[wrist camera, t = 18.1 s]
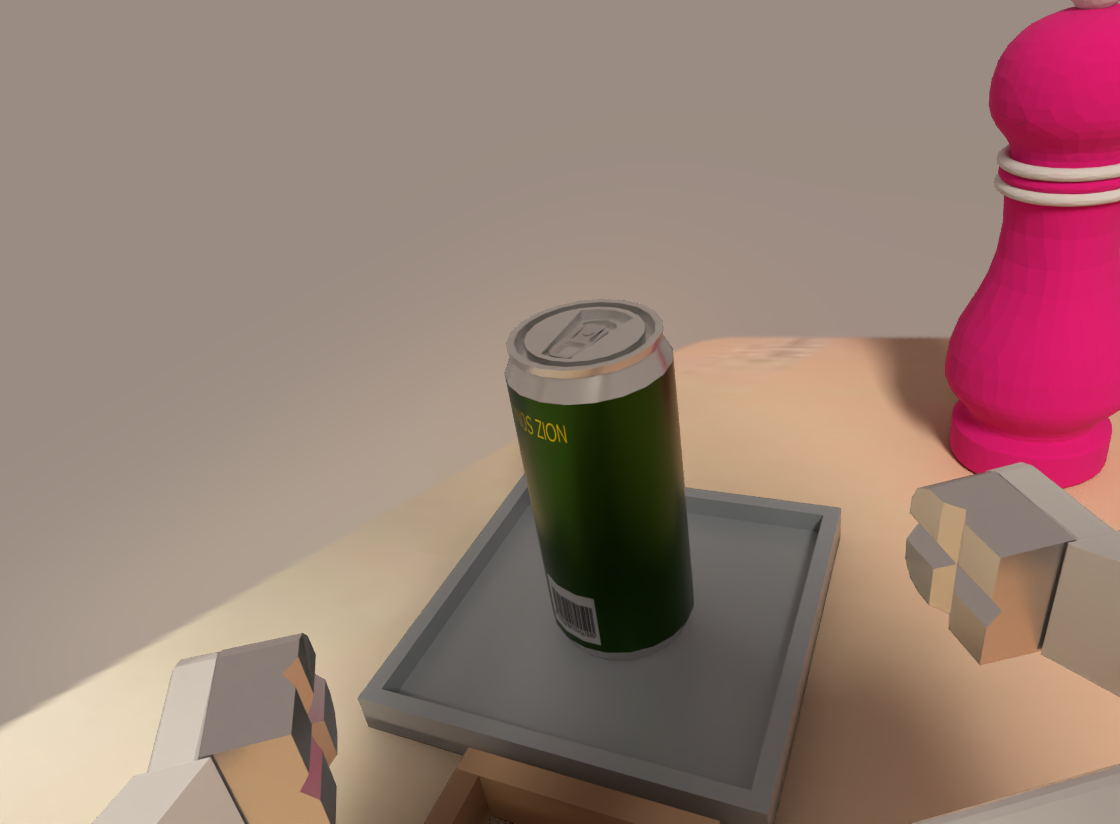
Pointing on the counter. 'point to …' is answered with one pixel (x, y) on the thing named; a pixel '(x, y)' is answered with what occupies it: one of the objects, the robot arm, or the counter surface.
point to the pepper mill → (1048, 259)
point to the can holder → (541, 798)
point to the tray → (626, 662)
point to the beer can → (604, 473)
